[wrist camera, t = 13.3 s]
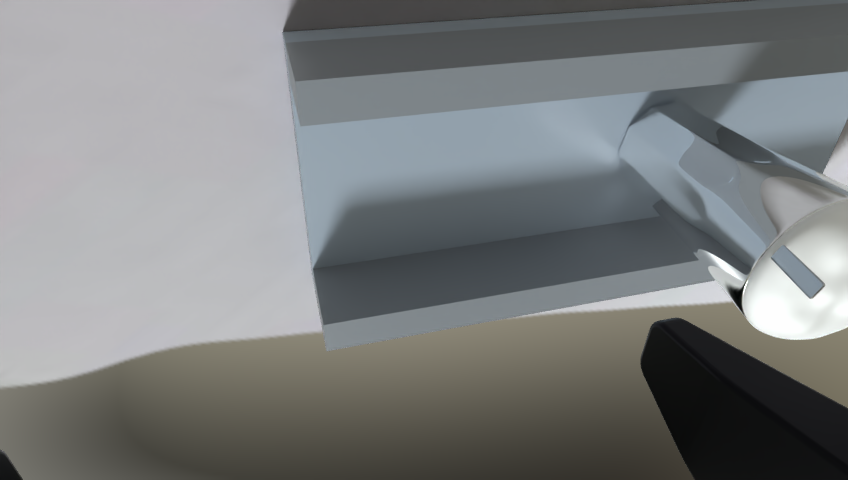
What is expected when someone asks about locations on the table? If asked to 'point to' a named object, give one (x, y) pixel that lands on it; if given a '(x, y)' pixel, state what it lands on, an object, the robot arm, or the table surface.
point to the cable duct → (530, 151)
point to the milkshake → (747, 218)
